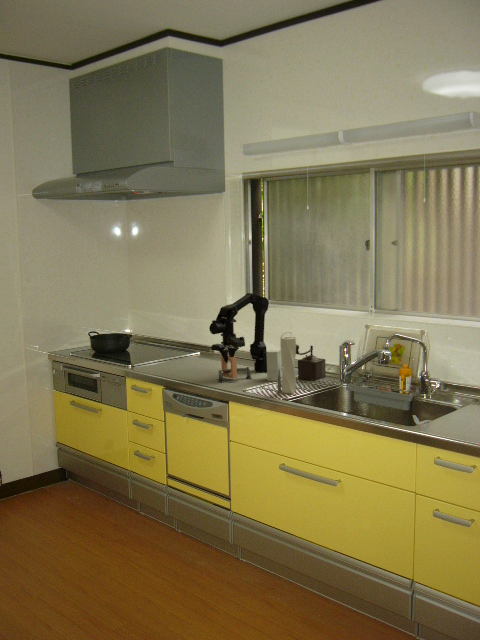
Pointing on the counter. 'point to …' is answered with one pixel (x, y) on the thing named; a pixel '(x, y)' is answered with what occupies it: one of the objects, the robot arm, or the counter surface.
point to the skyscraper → (287, 365)
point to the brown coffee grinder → (310, 366)
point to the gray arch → (247, 369)
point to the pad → (228, 380)
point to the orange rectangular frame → (233, 367)
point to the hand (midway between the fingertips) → (228, 362)
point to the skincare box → (273, 364)
